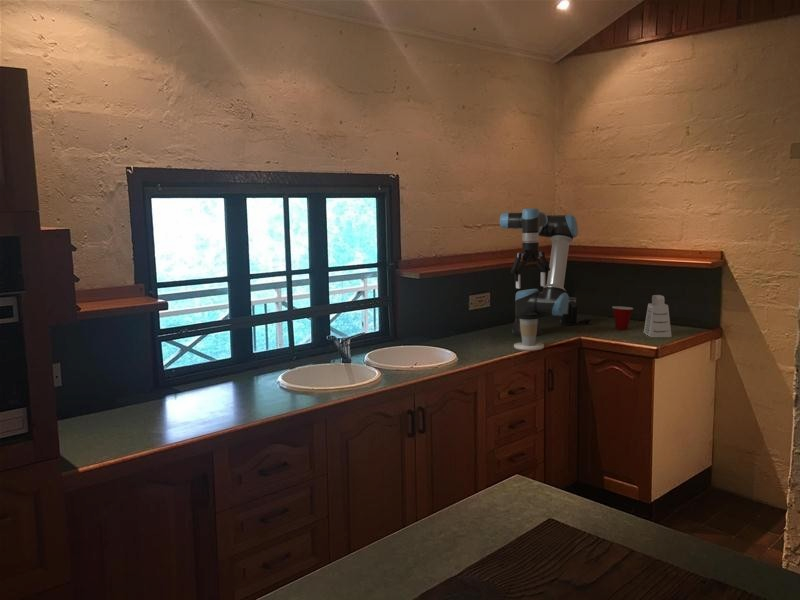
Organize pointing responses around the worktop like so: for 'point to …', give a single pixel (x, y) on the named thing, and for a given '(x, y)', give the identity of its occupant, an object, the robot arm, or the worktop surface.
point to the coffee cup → (528, 328)
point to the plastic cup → (622, 316)
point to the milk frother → (571, 314)
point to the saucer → (536, 347)
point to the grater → (657, 318)
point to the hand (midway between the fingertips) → (530, 287)
